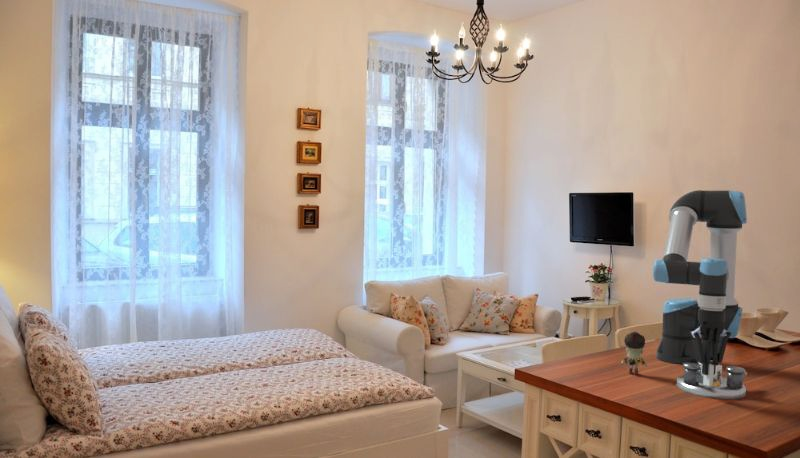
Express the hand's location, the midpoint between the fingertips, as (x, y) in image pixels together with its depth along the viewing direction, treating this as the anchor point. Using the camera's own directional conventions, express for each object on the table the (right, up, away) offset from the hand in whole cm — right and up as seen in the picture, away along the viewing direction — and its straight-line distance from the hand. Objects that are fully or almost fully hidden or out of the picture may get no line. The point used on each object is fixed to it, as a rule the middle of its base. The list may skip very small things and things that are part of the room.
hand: (708, 385), depth 194 cm
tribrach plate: (+5, -4, +10) cm, 12 cm away
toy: (-13, -3, +26) cm, 29 cm away
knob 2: (0, -1, +4) cm, 4 cm away
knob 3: (+13, -2, +8) cm, 15 cm away
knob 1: (+10, -1, +20) cm, 22 cm away
